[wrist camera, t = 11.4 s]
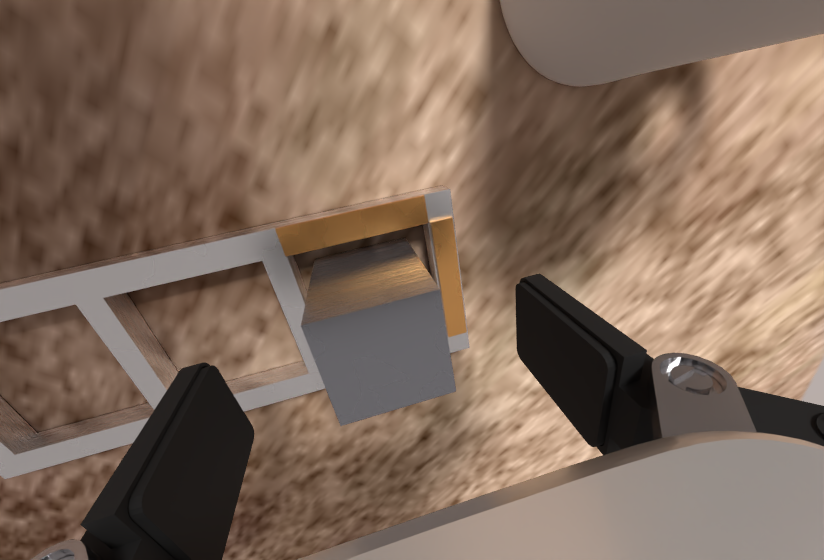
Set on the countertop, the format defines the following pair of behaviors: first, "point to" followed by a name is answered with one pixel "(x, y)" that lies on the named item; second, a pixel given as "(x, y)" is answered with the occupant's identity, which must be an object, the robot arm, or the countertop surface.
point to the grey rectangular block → (377, 330)
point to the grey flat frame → (271, 243)
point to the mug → (648, 33)
